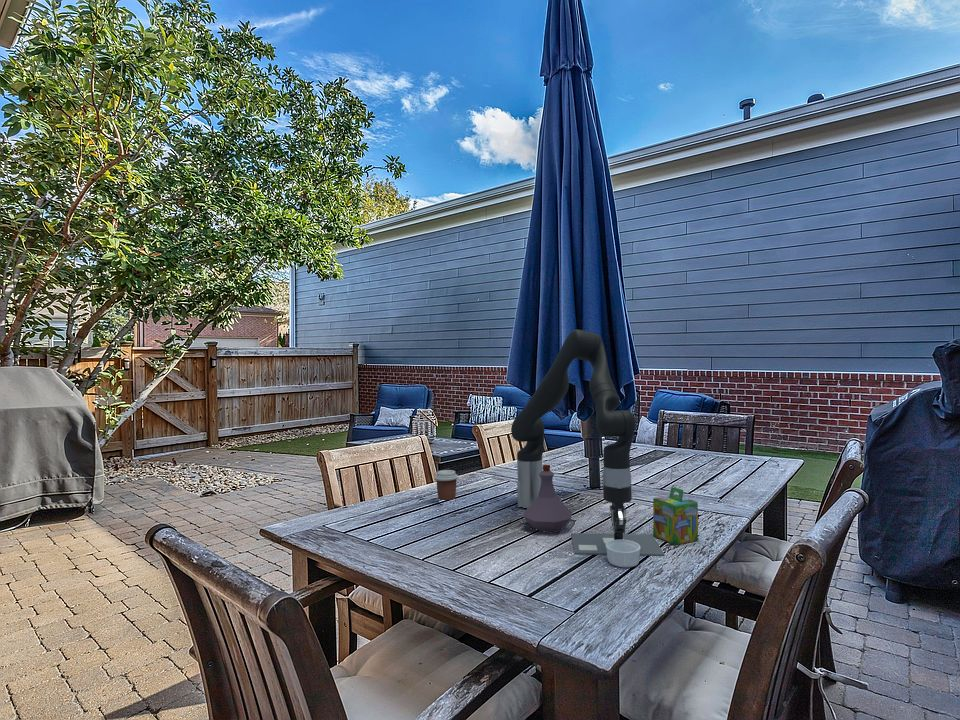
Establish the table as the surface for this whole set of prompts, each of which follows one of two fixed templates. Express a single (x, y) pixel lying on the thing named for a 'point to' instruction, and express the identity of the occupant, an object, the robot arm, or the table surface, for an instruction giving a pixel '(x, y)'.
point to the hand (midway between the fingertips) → (618, 545)
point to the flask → (547, 506)
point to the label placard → (597, 542)
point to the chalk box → (675, 518)
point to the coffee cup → (446, 484)
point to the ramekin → (623, 553)
